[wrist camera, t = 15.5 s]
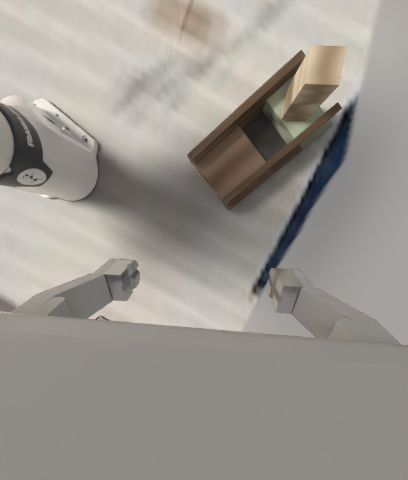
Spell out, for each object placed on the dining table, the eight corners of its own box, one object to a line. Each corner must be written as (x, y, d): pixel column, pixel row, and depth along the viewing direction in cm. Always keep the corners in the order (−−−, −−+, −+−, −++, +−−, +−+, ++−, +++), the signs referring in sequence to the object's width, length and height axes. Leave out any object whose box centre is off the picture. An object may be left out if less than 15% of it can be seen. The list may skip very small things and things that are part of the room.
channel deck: (189, 160, 34) (184, 148, 28) (280, 76, 31) (296, 42, 25) (228, 209, 35) (231, 208, 29) (322, 133, 32) (346, 114, 26)
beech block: (280, 119, 29) (304, 83, 21) (284, 93, 29) (311, 45, 21) (305, 121, 29) (339, 85, 21) (310, 94, 28) (346, 46, 20)
